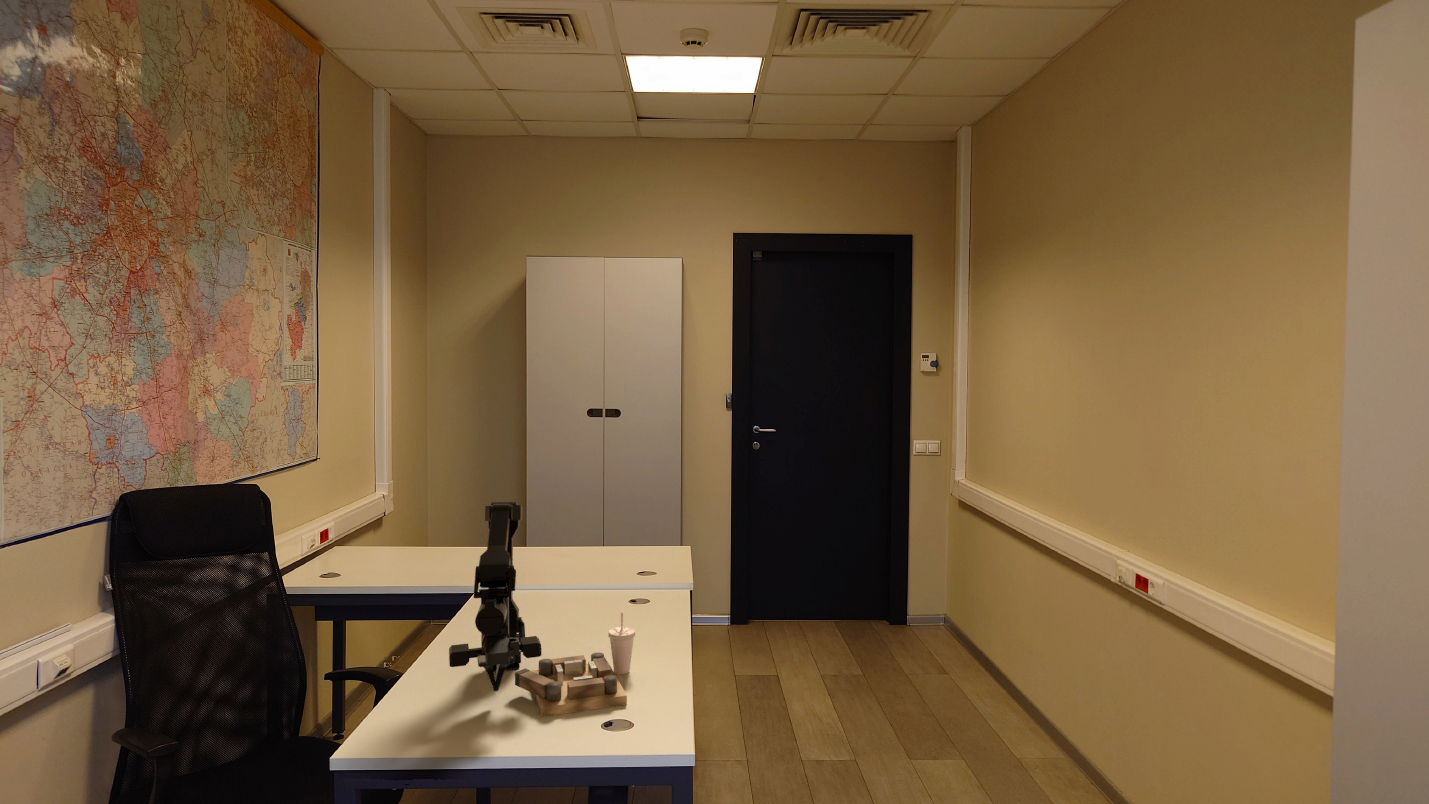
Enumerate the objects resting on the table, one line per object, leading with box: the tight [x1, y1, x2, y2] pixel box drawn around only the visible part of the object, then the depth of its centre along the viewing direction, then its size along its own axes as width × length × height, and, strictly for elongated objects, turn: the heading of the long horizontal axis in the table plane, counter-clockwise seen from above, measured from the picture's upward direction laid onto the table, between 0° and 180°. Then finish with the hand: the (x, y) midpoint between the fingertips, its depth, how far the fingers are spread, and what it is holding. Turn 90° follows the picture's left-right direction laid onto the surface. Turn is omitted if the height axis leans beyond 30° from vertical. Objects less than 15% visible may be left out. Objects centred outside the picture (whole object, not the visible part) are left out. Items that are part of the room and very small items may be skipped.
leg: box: [514, 667, 561, 701], centre depth 169 cm, size 13×3×3 cm, turn 50°
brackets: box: [555, 660, 597, 685], centre depth 175 cm, size 9×11×3 cm
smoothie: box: [607, 611, 636, 675], centre depth 186 cm, size 6×6×14 cm
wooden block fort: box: [531, 651, 628, 718], centre depth 175 cm, size 18×20×5 cm
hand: (495, 690), depth 168 cm, fingers closed
